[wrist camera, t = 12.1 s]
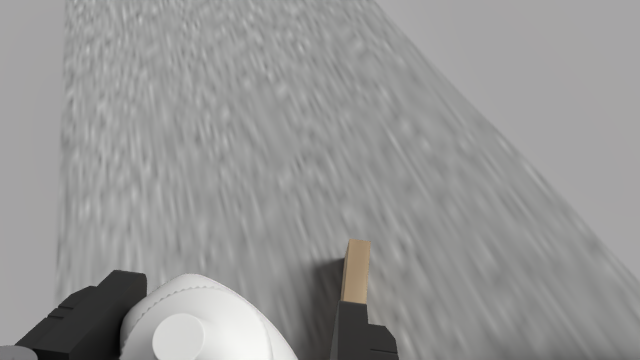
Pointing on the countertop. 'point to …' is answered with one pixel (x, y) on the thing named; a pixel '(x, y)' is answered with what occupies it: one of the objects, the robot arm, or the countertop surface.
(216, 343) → the eye dropper bottle
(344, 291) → the tan l-shaped piece
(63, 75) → the countertop surface
